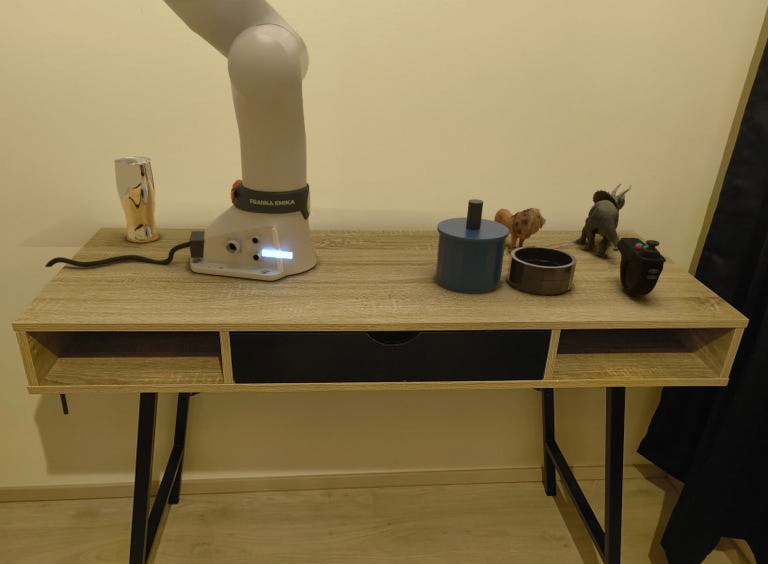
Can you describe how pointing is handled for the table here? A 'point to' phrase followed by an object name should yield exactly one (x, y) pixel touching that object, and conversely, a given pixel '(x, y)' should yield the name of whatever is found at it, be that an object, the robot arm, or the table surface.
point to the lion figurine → (520, 224)
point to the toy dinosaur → (603, 221)
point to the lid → (473, 226)
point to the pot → (469, 265)
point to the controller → (639, 265)
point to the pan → (541, 270)
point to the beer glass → (137, 197)
